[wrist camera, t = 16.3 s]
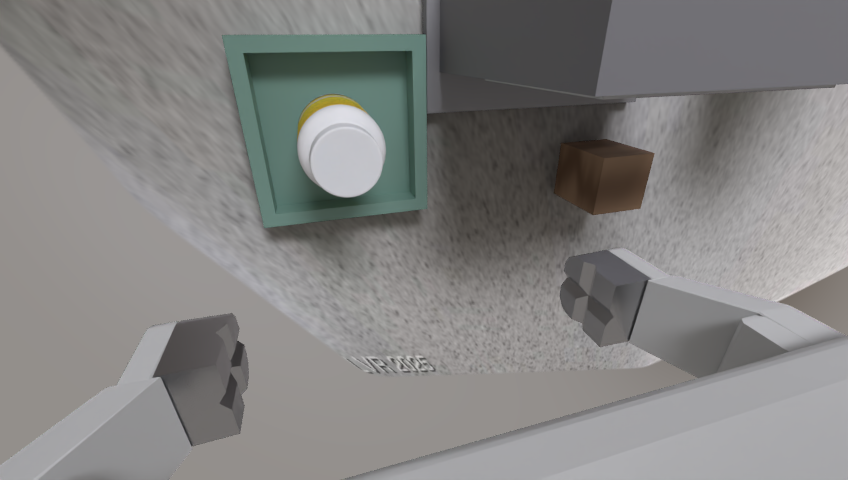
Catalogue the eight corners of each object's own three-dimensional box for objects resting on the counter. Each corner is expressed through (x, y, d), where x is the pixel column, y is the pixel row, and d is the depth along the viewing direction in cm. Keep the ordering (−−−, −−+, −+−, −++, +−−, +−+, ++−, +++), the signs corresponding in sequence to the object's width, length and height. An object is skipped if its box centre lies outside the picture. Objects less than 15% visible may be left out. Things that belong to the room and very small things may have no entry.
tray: (228, 36, 25) (221, 35, 23) (416, 35, 29) (426, 34, 26) (266, 215, 31) (264, 228, 29) (419, 198, 34) (427, 208, 32)
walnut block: (561, 142, 36) (604, 158, 31) (605, 139, 37) (654, 153, 32) (553, 193, 38) (593, 215, 33) (596, 187, 40) (640, 208, 34)
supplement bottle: (281, 123, 28) (272, 154, 20) (339, 77, 28) (355, 88, 19) (330, 178, 31) (341, 226, 22) (383, 136, 31) (414, 169, 22)
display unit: (421, -74, 26) (629, -289, 9) (661, -58, 31) (1073, -181, 14) (424, 111, 31) (558, 179, 15) (627, 100, 36) (898, 142, 20)
